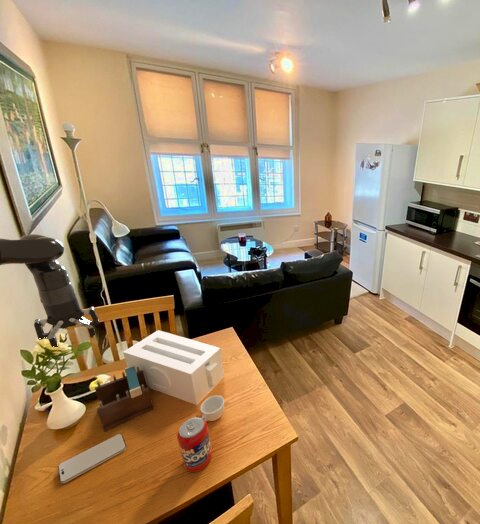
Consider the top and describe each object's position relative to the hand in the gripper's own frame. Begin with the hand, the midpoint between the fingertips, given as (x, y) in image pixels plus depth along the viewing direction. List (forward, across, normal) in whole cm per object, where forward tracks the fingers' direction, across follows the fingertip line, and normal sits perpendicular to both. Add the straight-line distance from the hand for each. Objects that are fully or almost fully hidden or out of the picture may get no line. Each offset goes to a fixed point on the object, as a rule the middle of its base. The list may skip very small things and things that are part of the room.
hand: (74, 341), depth 94 cm
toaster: (+29, -26, +6) cm, 39 cm away
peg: (+19, -12, +8) cm, 24 cm away
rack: (+28, -8, +8) cm, 30 cm away
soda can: (+28, -22, +44) cm, 57 cm away
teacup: (+28, -30, +31) cm, 52 cm away
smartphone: (+28, +2, +24) cm, 37 cm away
